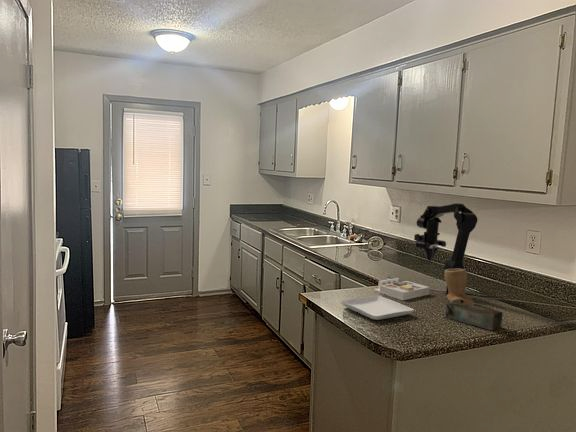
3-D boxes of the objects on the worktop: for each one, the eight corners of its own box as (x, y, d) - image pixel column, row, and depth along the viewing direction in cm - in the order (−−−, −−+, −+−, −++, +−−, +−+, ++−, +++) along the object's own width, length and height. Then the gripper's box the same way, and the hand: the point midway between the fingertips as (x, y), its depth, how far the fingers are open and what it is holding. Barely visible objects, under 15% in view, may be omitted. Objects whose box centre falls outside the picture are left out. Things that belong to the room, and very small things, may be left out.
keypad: (429, 294, 214) (430, 285, 213) (402, 300, 201) (403, 290, 201) (400, 286, 227) (401, 277, 226) (373, 291, 214) (374, 281, 213)
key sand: (413, 291, 208) (413, 287, 208) (407, 292, 205) (407, 288, 205) (405, 288, 211) (405, 284, 211) (399, 289, 208) (399, 286, 208)
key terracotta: (398, 292, 211) (398, 288, 210) (392, 293, 208) (392, 289, 208) (390, 289, 214) (390, 286, 214) (384, 290, 211) (384, 287, 211)
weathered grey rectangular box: (453, 314, 185) (455, 298, 185) (502, 328, 172) (504, 311, 171) (444, 318, 180) (445, 301, 179) (493, 332, 166) (495, 314, 166)
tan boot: (440, 296, 212) (443, 264, 210) (467, 299, 209) (470, 267, 208) (445, 305, 197) (448, 271, 195) (474, 308, 195) (477, 274, 193)
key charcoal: (406, 287, 214) (406, 283, 214) (400, 288, 211) (401, 284, 211) (398, 285, 218) (399, 281, 217) (393, 286, 215) (393, 282, 215)
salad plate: (374, 324, 168) (375, 315, 167) (338, 308, 186) (339, 299, 185) (415, 317, 179) (415, 308, 179) (377, 302, 197) (378, 294, 196)
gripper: (429, 227, 245) (426, 256, 246) (407, 229, 233) (405, 259, 234) (447, 230, 236) (445, 260, 238) (426, 232, 224) (424, 263, 226)
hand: (429, 260), depth 234 cm, fingers closed
